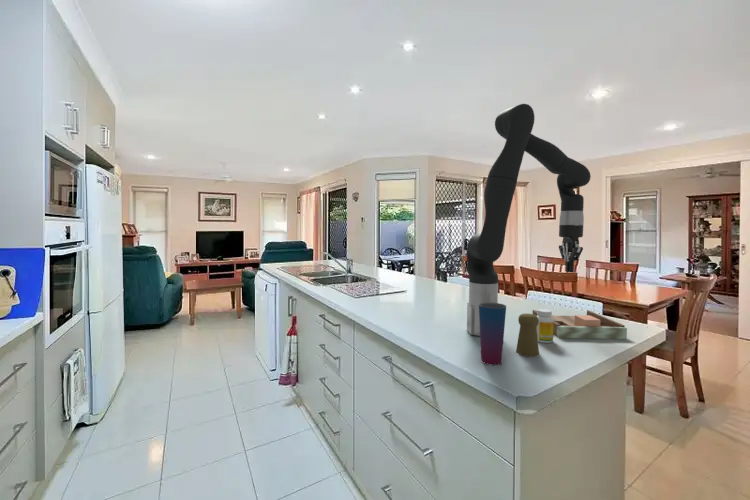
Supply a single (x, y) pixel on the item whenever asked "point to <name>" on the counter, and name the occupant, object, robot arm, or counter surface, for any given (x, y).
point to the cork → (528, 336)
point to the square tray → (587, 328)
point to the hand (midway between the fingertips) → (569, 272)
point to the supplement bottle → (545, 326)
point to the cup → (492, 331)
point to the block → (586, 321)
